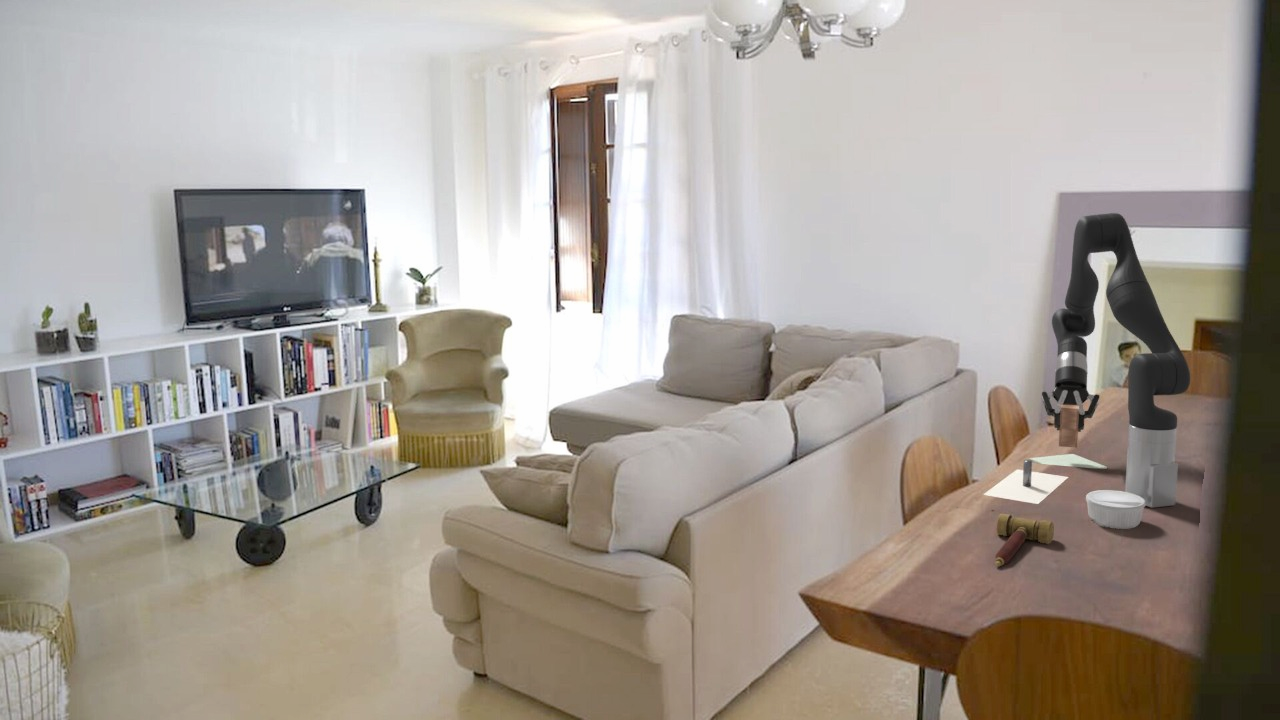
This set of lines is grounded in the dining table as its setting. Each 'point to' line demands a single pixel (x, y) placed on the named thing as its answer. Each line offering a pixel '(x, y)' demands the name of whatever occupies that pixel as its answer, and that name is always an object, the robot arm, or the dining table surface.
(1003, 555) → the gavel
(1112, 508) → the ramekin
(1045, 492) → the hook board
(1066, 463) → the mat
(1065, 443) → the tan recessed-panel box
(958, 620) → the dining table surface
